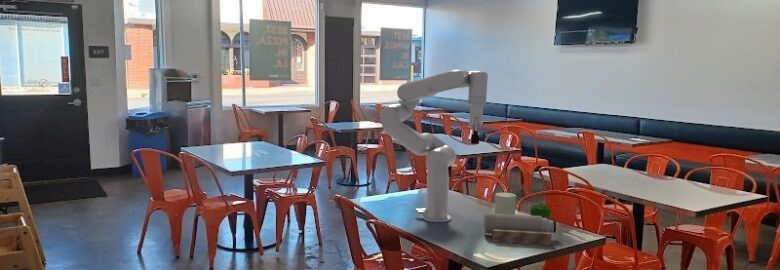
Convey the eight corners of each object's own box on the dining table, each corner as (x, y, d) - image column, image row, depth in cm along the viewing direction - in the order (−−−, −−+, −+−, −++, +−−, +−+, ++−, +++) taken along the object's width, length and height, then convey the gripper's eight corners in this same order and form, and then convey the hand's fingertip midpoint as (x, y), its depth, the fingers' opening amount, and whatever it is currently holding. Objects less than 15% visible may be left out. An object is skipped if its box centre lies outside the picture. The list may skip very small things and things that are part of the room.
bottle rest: (493, 241, 231) (493, 230, 230) (490, 231, 246) (491, 220, 245) (550, 245, 229) (551, 234, 228) (545, 234, 243) (545, 223, 243)
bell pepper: (527, 221, 263) (528, 199, 262) (545, 221, 264) (546, 199, 263) (533, 226, 255) (535, 203, 254) (552, 226, 256) (553, 203, 255)
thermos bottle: (483, 234, 242) (553, 238, 239) (485, 231, 234) (557, 235, 232) (484, 214, 244) (553, 218, 242) (485, 211, 237) (557, 215, 234)
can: (510, 224, 258) (511, 197, 257) (490, 220, 263) (491, 194, 261) (517, 219, 266) (519, 193, 264) (498, 216, 271) (499, 190, 269)
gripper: (468, 99, 257) (465, 141, 259) (468, 101, 242) (466, 145, 245) (485, 99, 256) (483, 142, 259) (487, 102, 242) (484, 146, 244)
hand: (474, 143), depth 252 cm, fingers closed
